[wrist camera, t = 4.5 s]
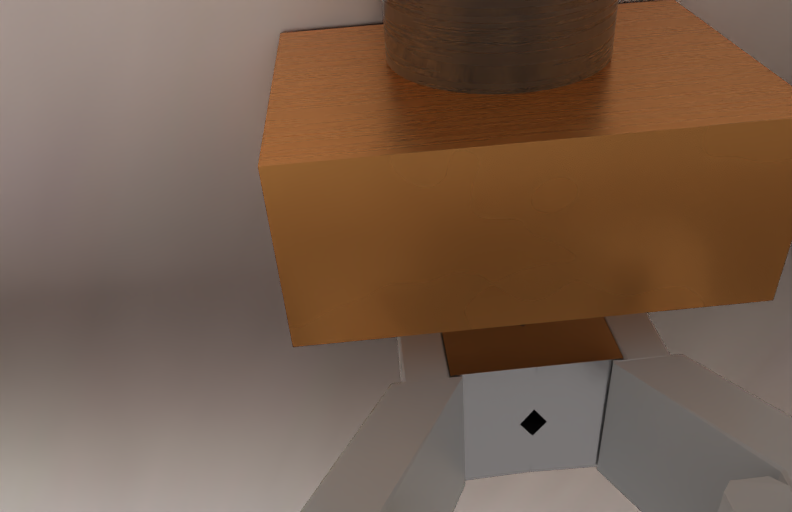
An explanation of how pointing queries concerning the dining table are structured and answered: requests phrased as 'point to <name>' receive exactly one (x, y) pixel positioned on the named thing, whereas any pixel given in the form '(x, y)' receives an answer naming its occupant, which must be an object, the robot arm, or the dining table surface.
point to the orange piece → (521, 168)
